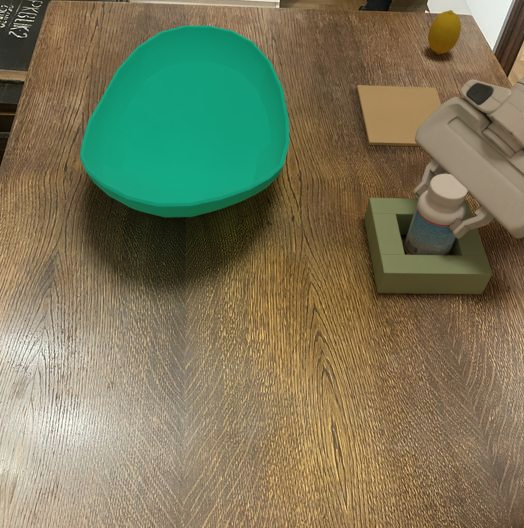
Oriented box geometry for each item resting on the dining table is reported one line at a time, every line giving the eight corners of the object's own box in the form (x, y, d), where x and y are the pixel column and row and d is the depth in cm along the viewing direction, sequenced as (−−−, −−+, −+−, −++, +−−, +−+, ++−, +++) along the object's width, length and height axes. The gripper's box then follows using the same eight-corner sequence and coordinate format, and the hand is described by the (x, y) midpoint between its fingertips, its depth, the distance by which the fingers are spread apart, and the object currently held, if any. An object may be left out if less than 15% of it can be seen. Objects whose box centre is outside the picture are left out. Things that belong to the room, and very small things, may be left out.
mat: (434, 90, 107) (435, 87, 107) (453, 147, 98) (455, 144, 97) (356, 88, 106) (357, 84, 106) (368, 145, 97) (369, 142, 97)
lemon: (421, 58, 113) (433, 14, 106) (425, 44, 116) (437, 0, 109) (450, 65, 112) (464, 21, 106) (454, 50, 115) (468, 6, 109)
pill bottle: (451, 267, 81) (479, 203, 72) (406, 266, 81) (429, 202, 72) (443, 234, 85) (469, 170, 76) (400, 234, 85) (420, 169, 75)
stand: (458, 220, 88) (467, 199, 85) (481, 294, 80) (492, 274, 77) (363, 218, 87) (369, 197, 84) (377, 293, 79) (384, 272, 76)
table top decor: (272, 295, 78) (280, 218, 67) (60, 271, 78) (34, 191, 68) (293, 113, 101) (301, 34, 90) (128, 96, 101) (117, 15, 90)
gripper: (590, 191, 70) (495, 276, 75) (476, 96, 80) (399, 177, 85) (580, 170, 65) (479, 263, 70) (460, 72, 75) (379, 159, 80)
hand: (434, 215), depth 77 cm, fingers closed on pill bottle, 6 cm apart
